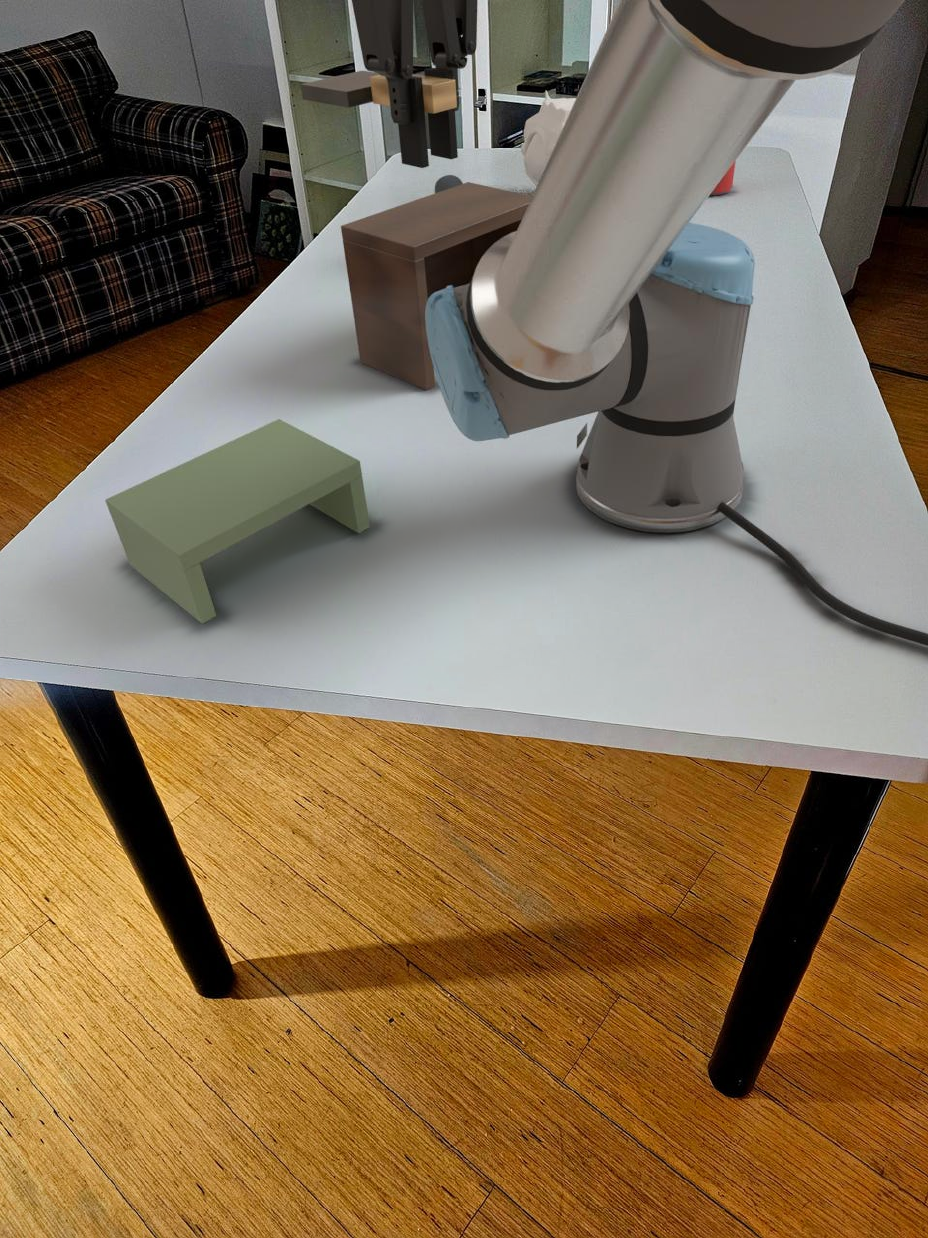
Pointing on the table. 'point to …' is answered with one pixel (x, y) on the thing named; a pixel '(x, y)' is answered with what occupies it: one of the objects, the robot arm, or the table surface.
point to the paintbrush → (447, 183)
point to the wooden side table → (419, 268)
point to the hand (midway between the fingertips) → (429, 159)
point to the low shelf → (231, 505)
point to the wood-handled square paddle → (377, 91)
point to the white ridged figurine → (544, 134)
